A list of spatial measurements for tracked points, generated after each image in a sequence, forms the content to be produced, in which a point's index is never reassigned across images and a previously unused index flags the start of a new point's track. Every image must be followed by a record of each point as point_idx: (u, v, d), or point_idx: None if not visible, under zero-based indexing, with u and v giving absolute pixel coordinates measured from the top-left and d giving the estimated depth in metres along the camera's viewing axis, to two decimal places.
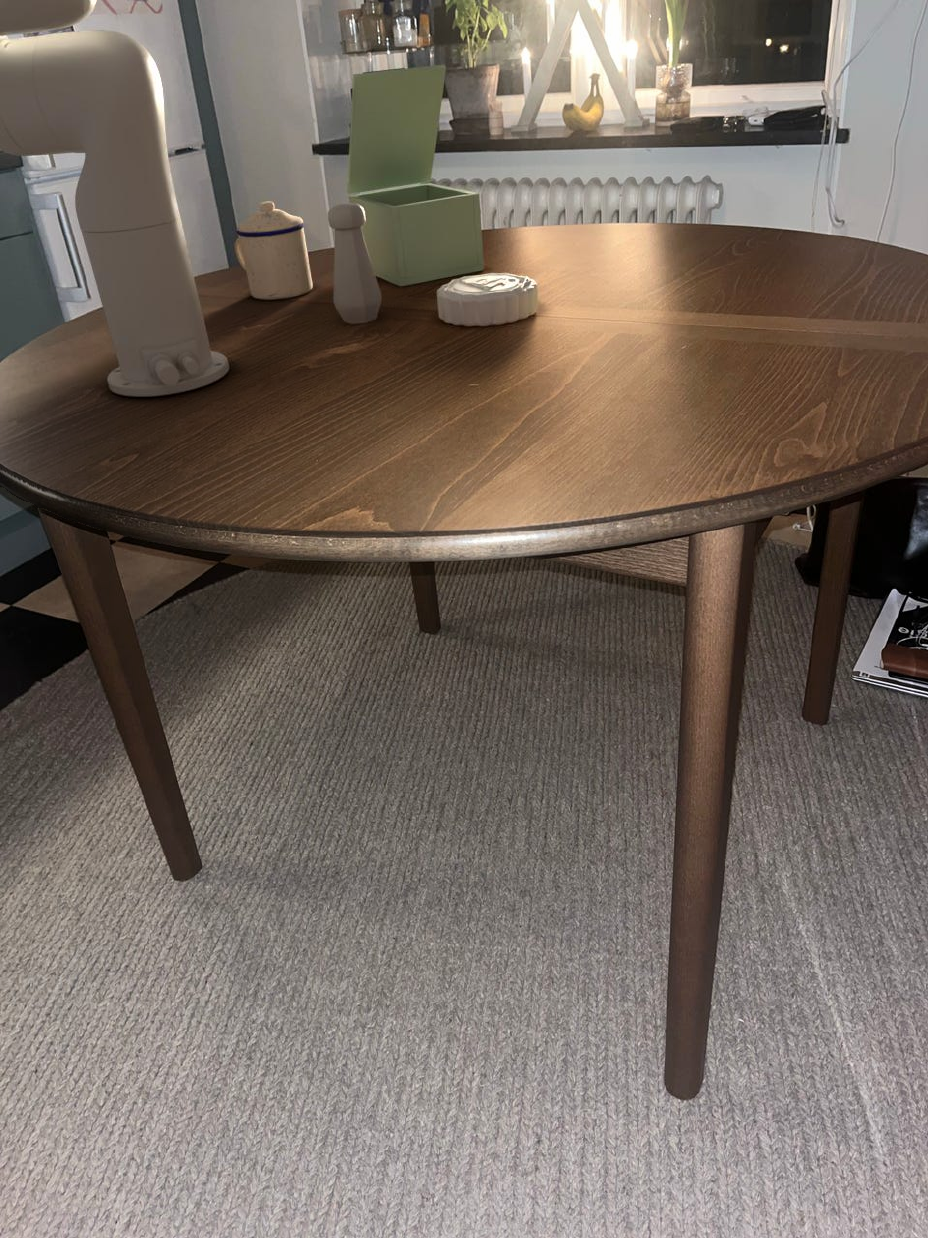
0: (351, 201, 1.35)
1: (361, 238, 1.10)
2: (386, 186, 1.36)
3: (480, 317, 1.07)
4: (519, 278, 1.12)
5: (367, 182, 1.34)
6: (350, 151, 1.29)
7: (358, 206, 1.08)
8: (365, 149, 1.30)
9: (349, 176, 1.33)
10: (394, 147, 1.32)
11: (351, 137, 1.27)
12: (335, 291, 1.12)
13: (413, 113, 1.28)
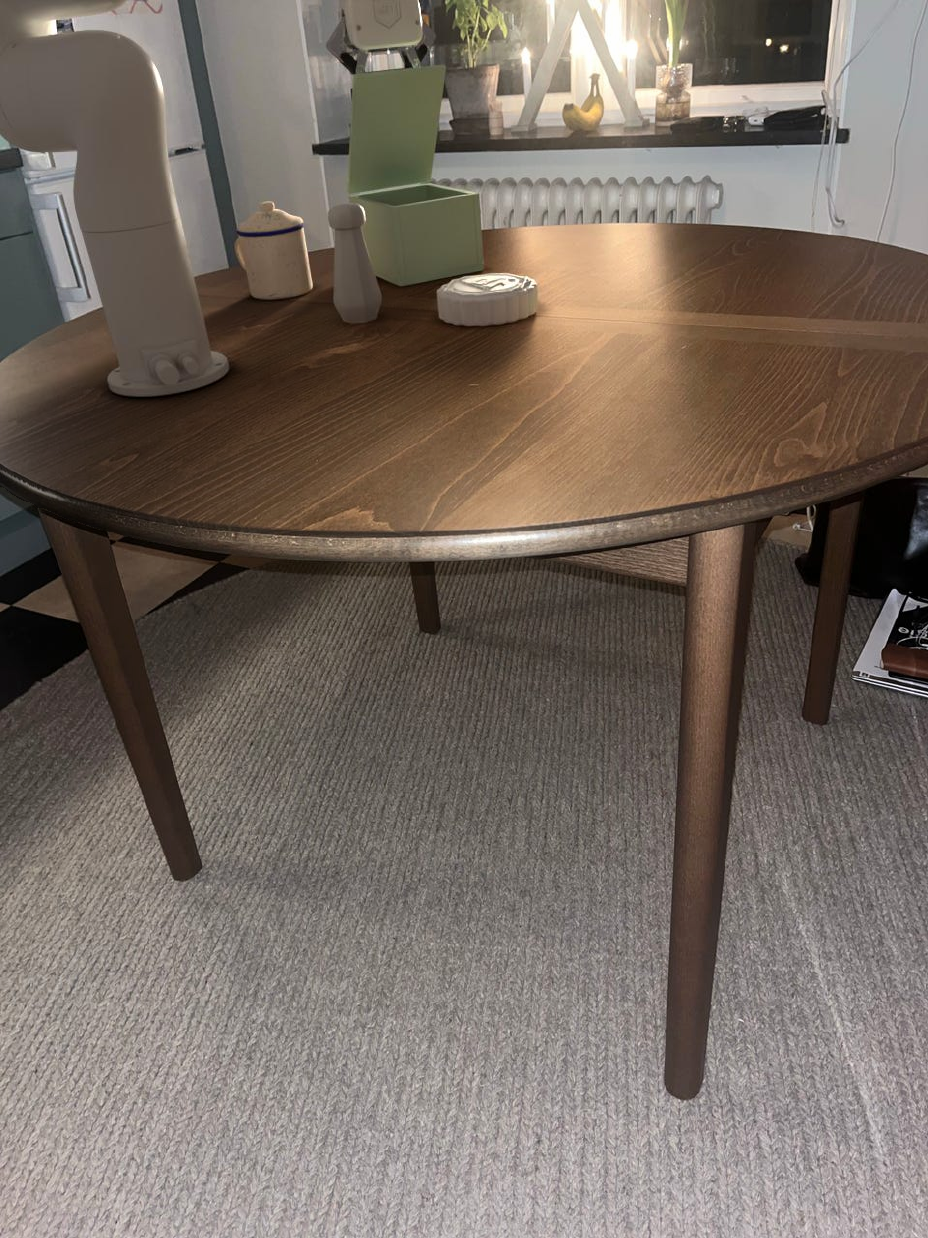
0: (351, 201, 1.35)
1: (361, 238, 1.10)
2: (386, 186, 1.36)
3: (480, 317, 1.07)
4: (519, 278, 1.12)
5: (367, 182, 1.34)
6: (350, 151, 1.29)
7: (358, 206, 1.08)
8: (365, 149, 1.30)
9: (349, 176, 1.33)
10: (394, 147, 1.32)
11: (351, 137, 1.27)
12: (335, 291, 1.12)
13: (413, 113, 1.28)
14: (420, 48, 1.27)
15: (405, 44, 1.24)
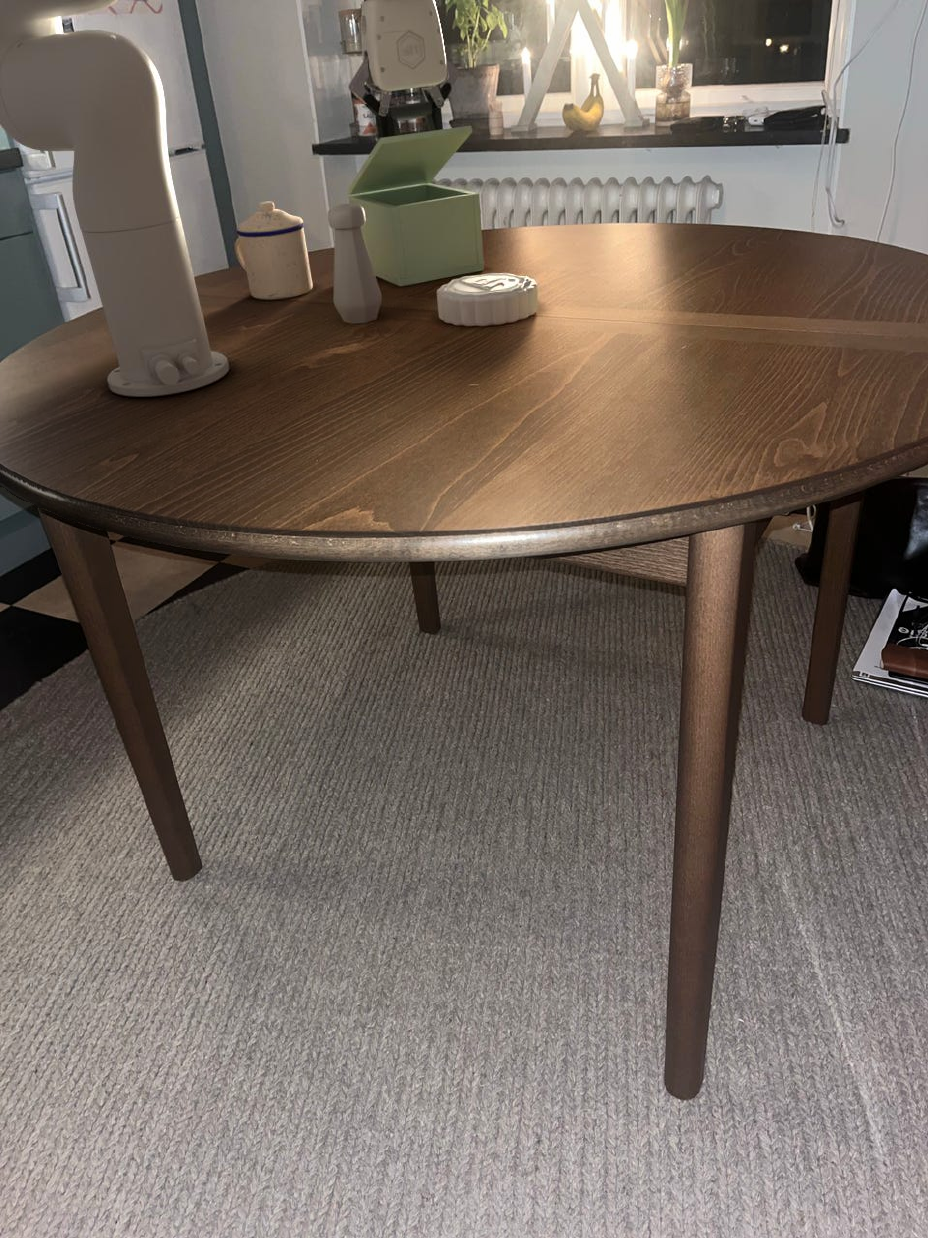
0: (351, 201, 1.35)
1: (361, 238, 1.10)
2: (386, 188, 1.37)
3: (480, 317, 1.07)
4: (519, 278, 1.12)
5: (369, 188, 1.35)
6: (359, 175, 1.29)
7: (358, 206, 1.08)
8: (375, 174, 1.30)
9: (353, 186, 1.32)
10: (403, 171, 1.31)
11: (364, 169, 1.27)
12: (335, 291, 1.12)
13: (429, 154, 1.28)
14: (444, 87, 1.24)
15: (429, 84, 1.21)
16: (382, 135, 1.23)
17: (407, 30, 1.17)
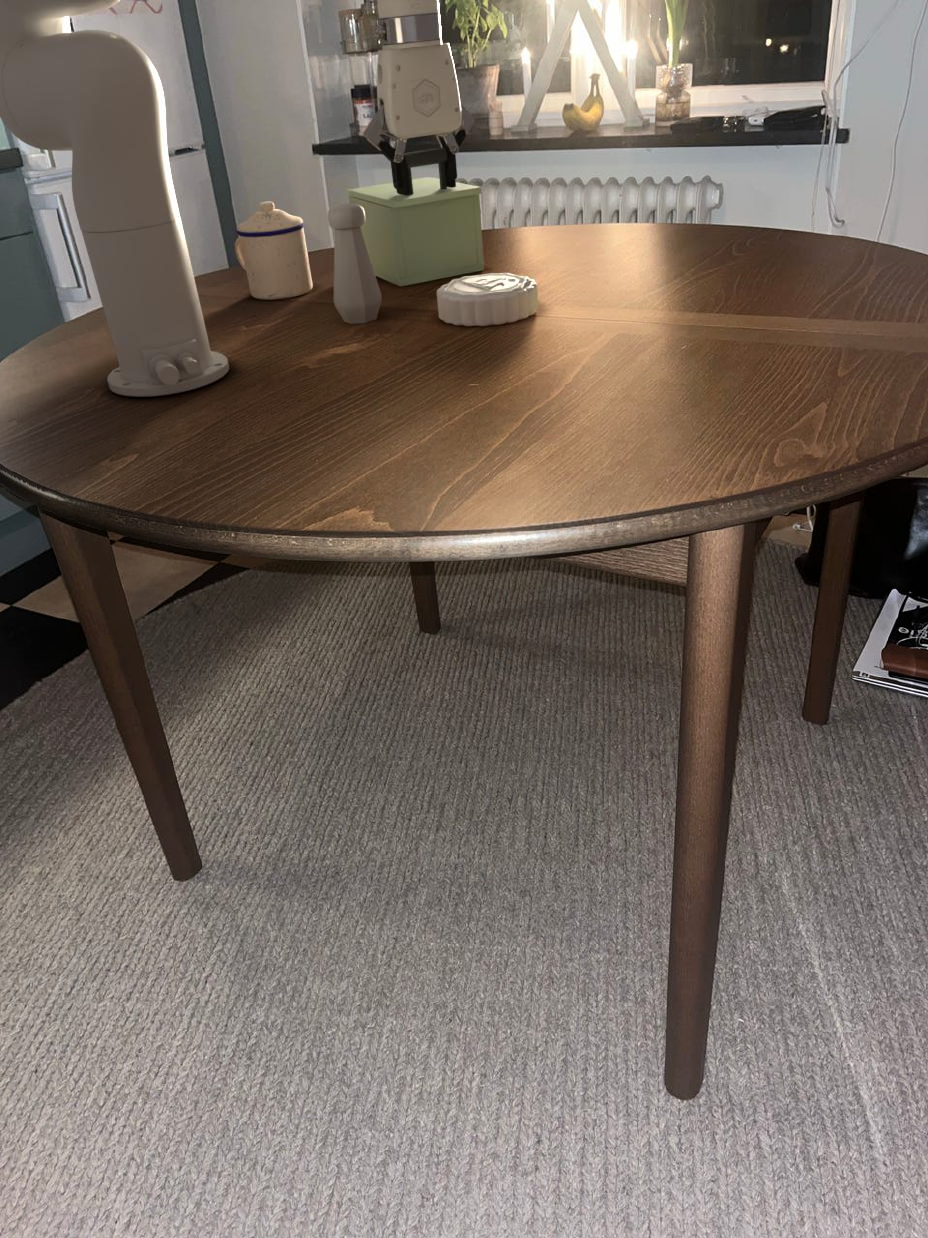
0: (351, 201, 1.35)
1: (361, 238, 1.10)
2: None
3: (480, 317, 1.07)
4: (519, 278, 1.12)
5: None
6: (364, 197, 1.30)
7: (358, 206, 1.08)
8: None
9: (354, 195, 1.33)
10: None
11: (370, 200, 1.28)
12: (335, 291, 1.12)
13: None
14: (458, 133, 1.24)
15: (444, 131, 1.22)
16: (397, 181, 1.24)
17: (423, 79, 1.18)
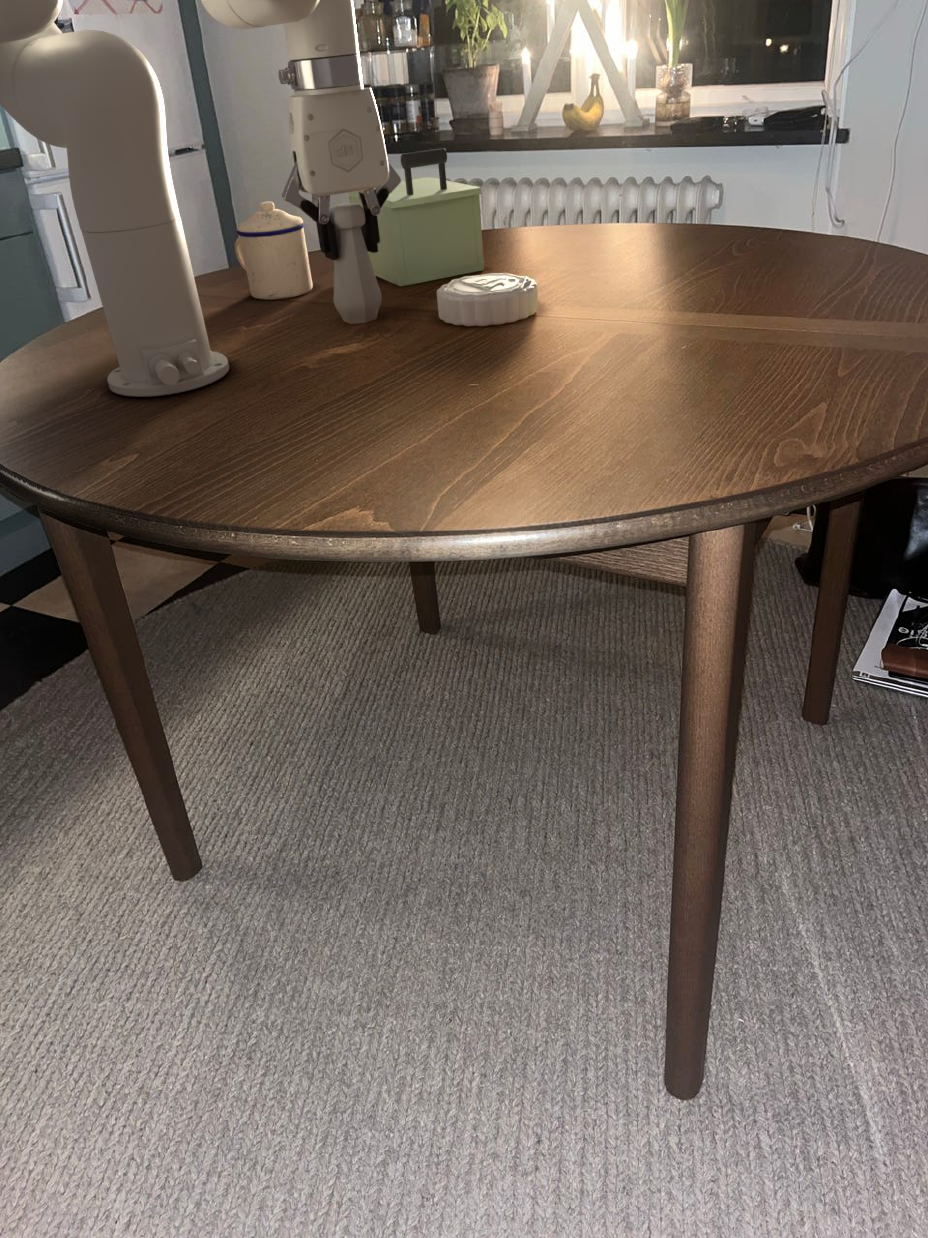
0: (351, 201, 1.35)
1: (361, 238, 1.10)
2: None
3: (480, 317, 1.07)
4: (519, 278, 1.12)
5: None
6: None
7: (358, 206, 1.08)
8: None
9: (354, 195, 1.33)
10: None
11: None
12: (335, 291, 1.12)
13: None
14: (380, 192, 1.09)
15: (368, 187, 1.06)
16: (323, 245, 1.09)
17: (341, 129, 1.02)
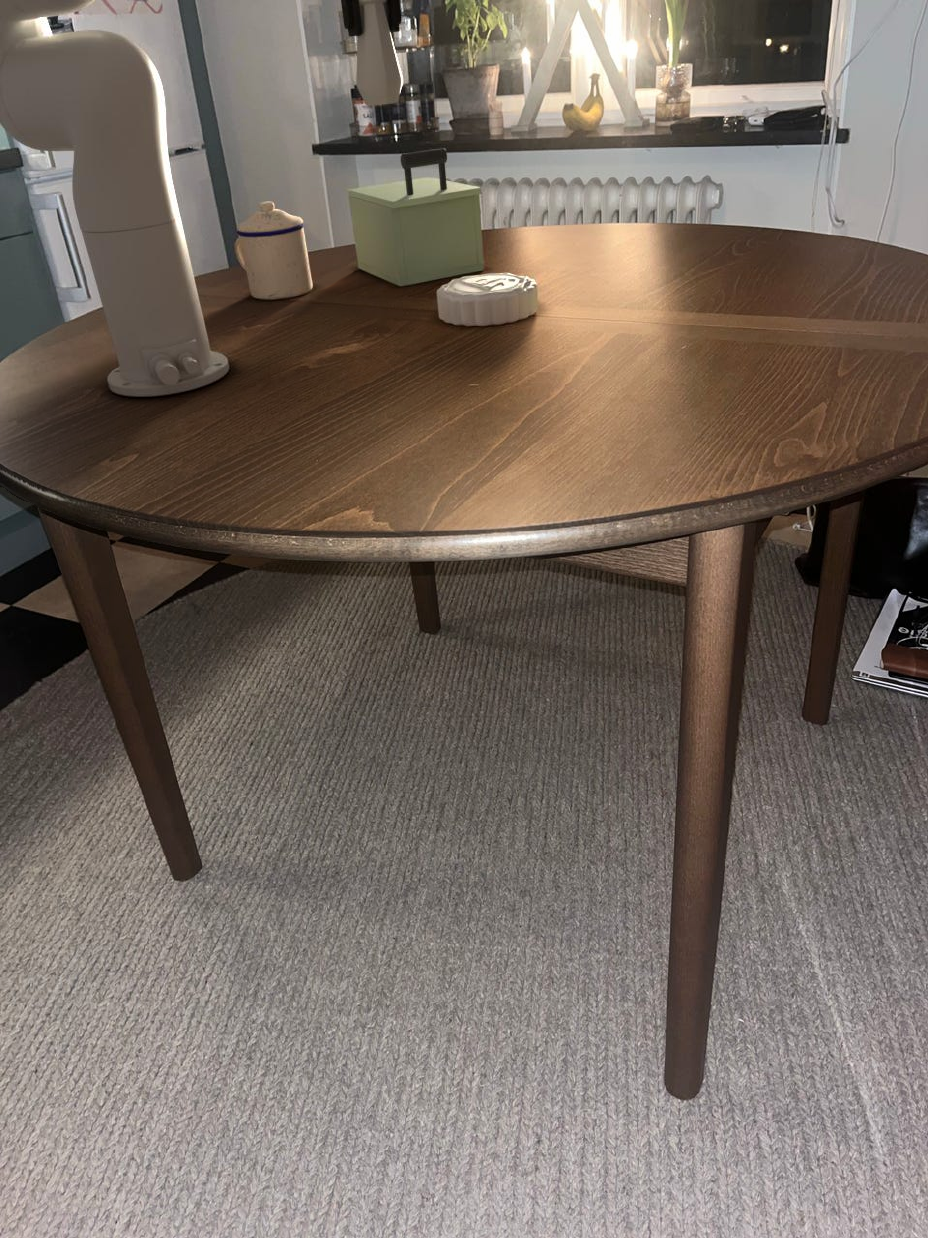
0: (351, 201, 1.35)
1: (383, 14, 1.13)
2: None
3: (480, 317, 1.07)
4: (519, 278, 1.12)
5: None
6: (364, 197, 1.30)
7: None
8: None
9: (354, 195, 1.33)
10: None
11: (370, 201, 1.28)
12: (358, 71, 1.16)
13: None
14: None
15: None
16: (347, 19, 1.12)
17: None
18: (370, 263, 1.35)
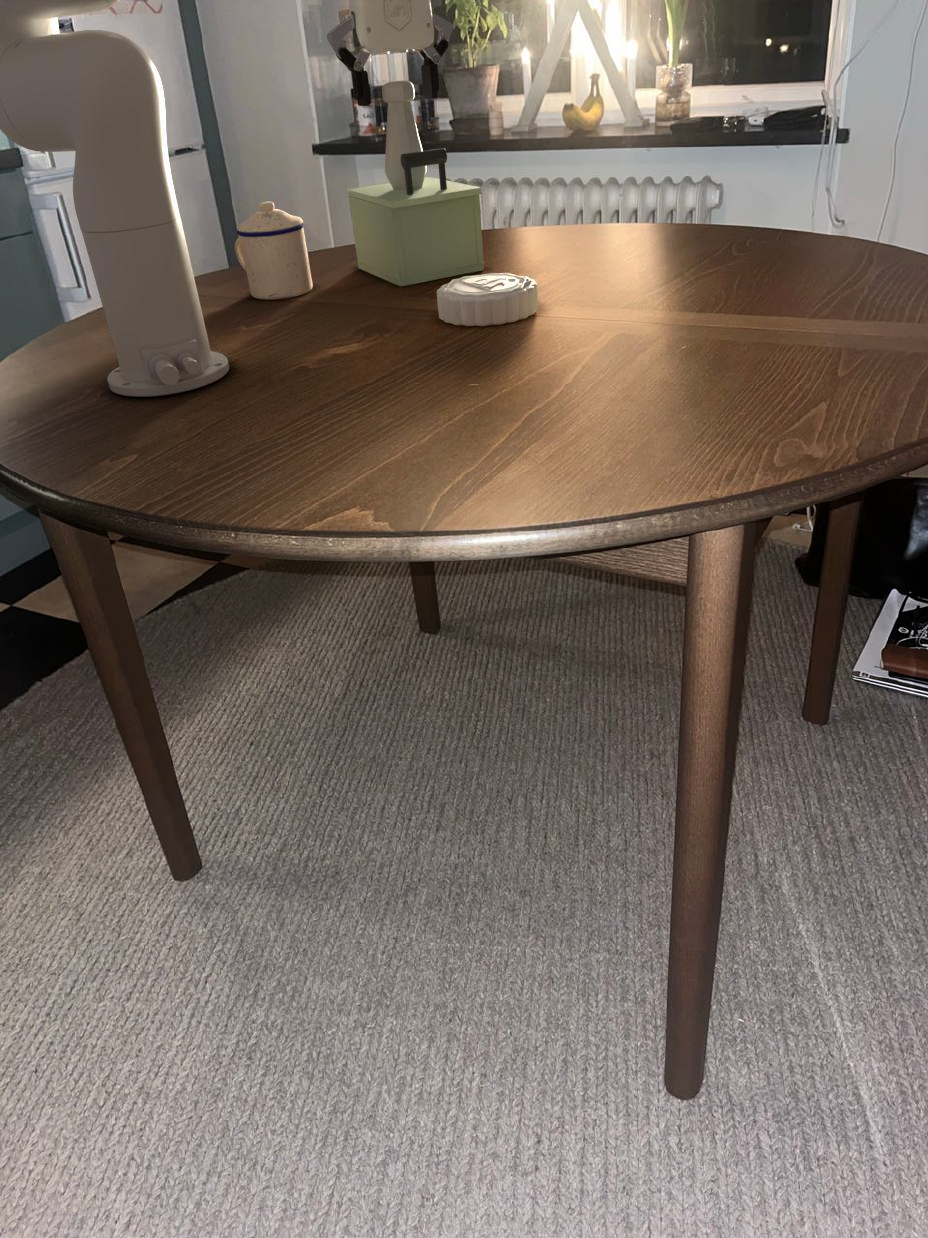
0: (351, 201, 1.35)
1: (410, 111, 1.26)
2: None
3: (480, 317, 1.07)
4: (519, 278, 1.12)
5: None
6: (364, 197, 1.30)
7: (409, 82, 1.24)
8: None
9: (354, 195, 1.33)
10: None
11: (370, 201, 1.28)
12: (387, 160, 1.29)
13: None
14: (440, 43, 1.24)
15: (416, 47, 1.21)
16: (357, 91, 1.22)
17: None
18: (370, 263, 1.35)
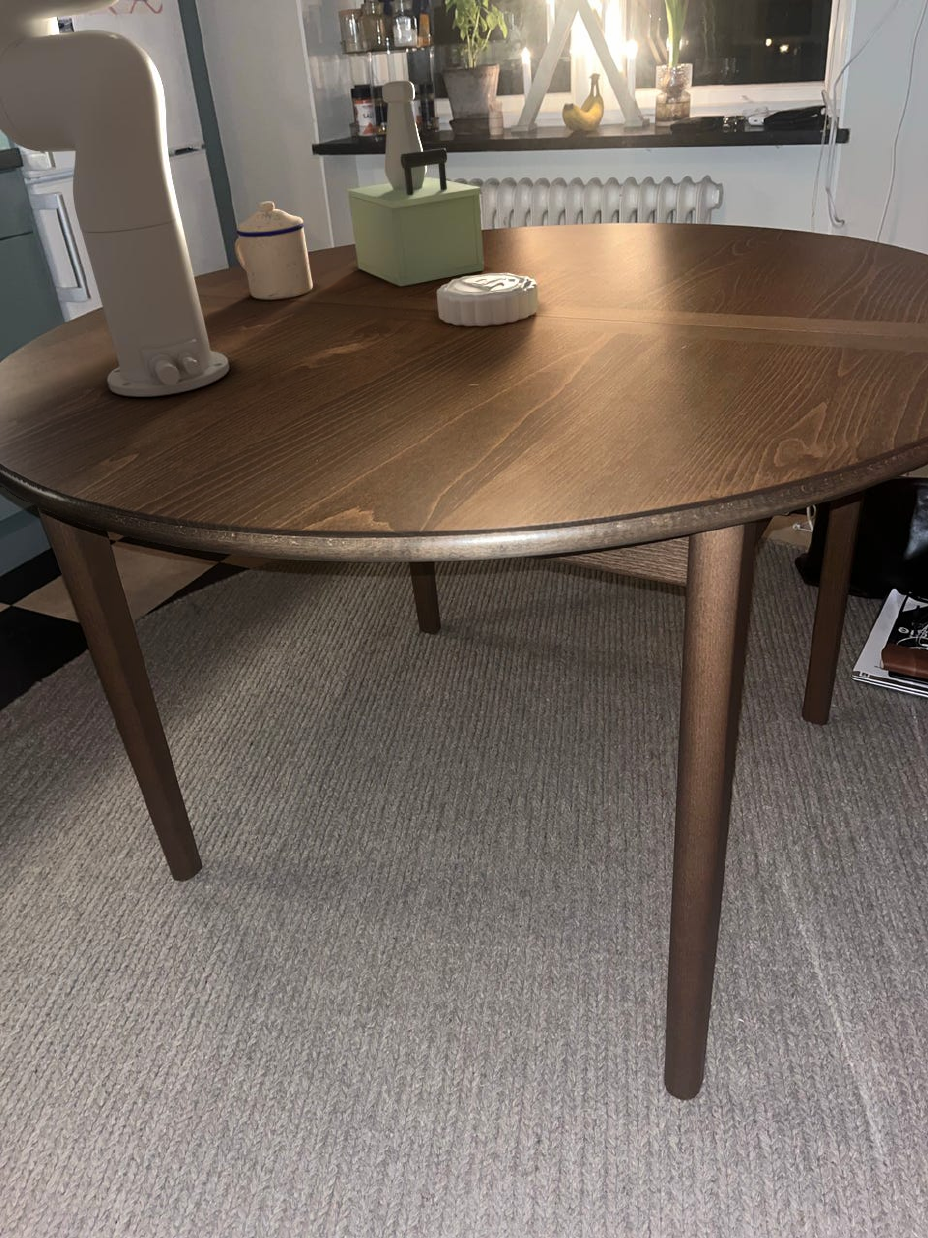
0: (351, 201, 1.35)
1: (410, 111, 1.26)
2: None
3: (480, 317, 1.07)
4: (519, 278, 1.12)
5: None
6: (364, 197, 1.30)
7: (409, 82, 1.24)
8: None
9: (354, 195, 1.33)
10: None
11: (370, 201, 1.28)
12: (387, 160, 1.29)
13: None
14: None
15: None
16: None
17: None
18: (370, 263, 1.35)
